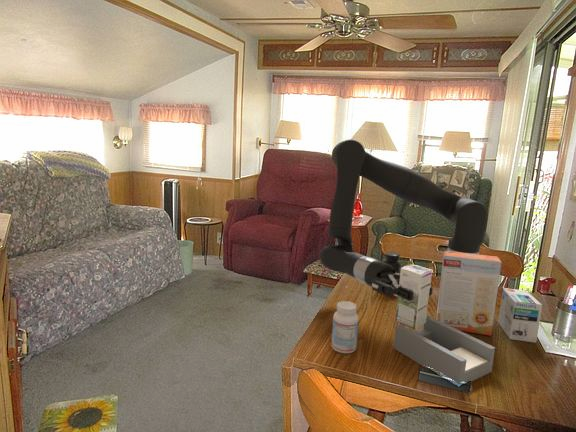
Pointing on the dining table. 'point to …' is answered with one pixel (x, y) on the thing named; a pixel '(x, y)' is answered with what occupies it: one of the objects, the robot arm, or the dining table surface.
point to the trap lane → (446, 350)
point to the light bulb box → (519, 315)
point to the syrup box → (414, 296)
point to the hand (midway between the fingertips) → (421, 294)
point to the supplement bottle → (393, 261)
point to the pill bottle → (345, 328)
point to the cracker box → (468, 291)
